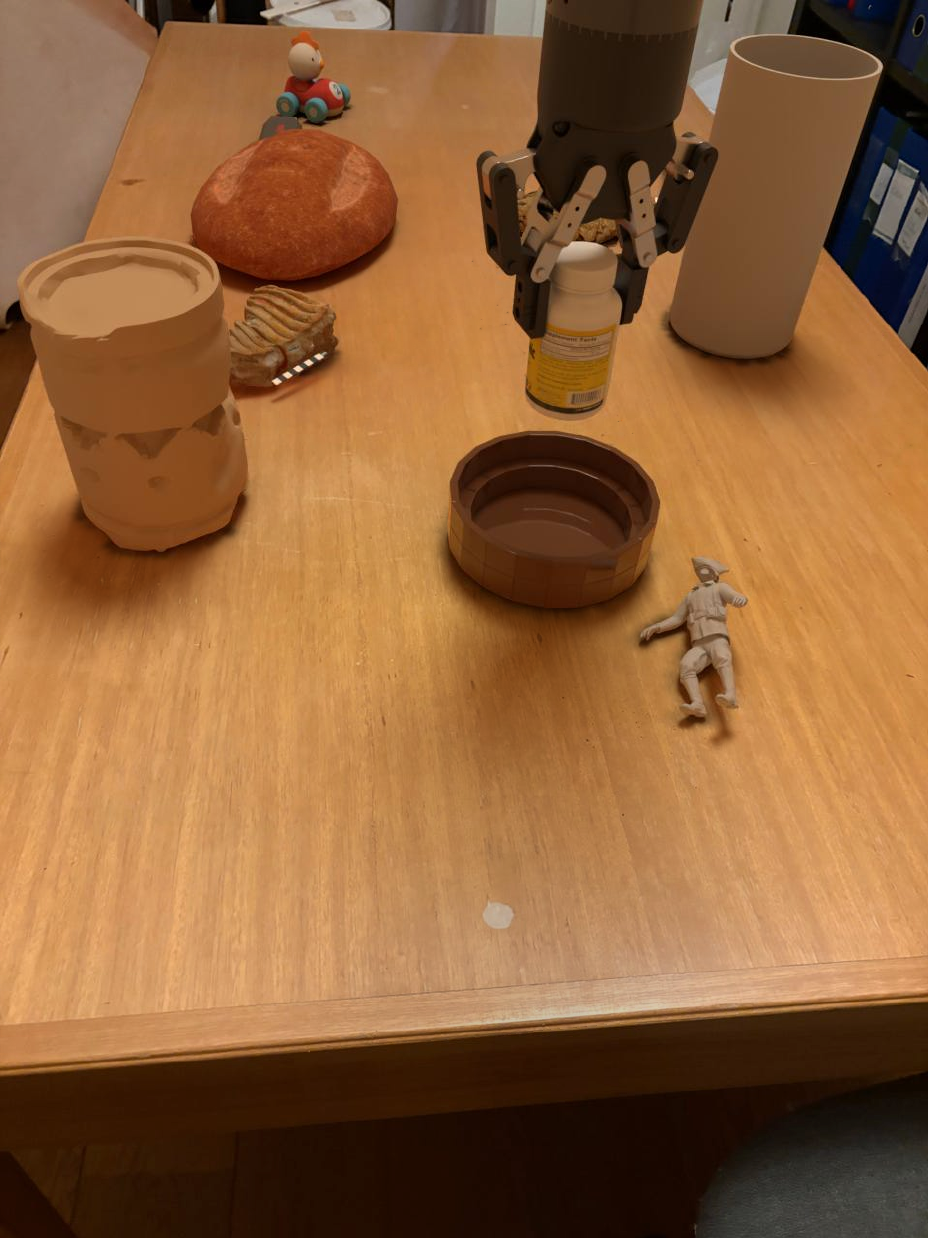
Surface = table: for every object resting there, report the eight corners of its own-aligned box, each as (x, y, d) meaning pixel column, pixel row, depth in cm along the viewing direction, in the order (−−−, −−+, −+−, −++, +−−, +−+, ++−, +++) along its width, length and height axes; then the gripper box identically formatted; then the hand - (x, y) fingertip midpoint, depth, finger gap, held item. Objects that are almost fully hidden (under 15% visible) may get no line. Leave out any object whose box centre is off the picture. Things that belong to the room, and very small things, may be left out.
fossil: (345, 340, 90) (255, 317, 90) (348, 290, 86) (253, 266, 85) (310, 423, 83) (213, 399, 83) (311, 374, 79) (208, 348, 79)
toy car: (327, 126, 130) (323, 45, 123) (271, 115, 132) (264, 35, 125) (356, 107, 136) (353, 29, 129) (302, 97, 138) (296, 19, 131)
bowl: (683, 586, 68) (699, 534, 65) (494, 635, 64) (500, 583, 60) (590, 466, 78) (599, 416, 74) (419, 502, 74) (420, 450, 70)
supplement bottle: (542, 369, 64) (559, 227, 57) (616, 392, 62) (644, 248, 55) (509, 408, 60) (524, 262, 53) (588, 433, 59) (613, 285, 52)
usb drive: (257, 165, 119) (255, 142, 117) (266, 132, 127) (264, 110, 125) (298, 167, 120) (296, 144, 118) (304, 133, 128) (303, 111, 126)
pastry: (645, 259, 106) (651, 233, 104) (494, 250, 106) (496, 224, 103) (630, 197, 118) (634, 173, 116) (494, 189, 118) (495, 165, 115)
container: (177, 576, 67) (123, 349, 54) (49, 515, 70) (-31, 289, 57) (284, 484, 74) (260, 267, 61) (163, 434, 78) (116, 220, 65)
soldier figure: (639, 721, 61) (629, 560, 66) (679, 739, 64) (666, 584, 69) (748, 693, 56) (728, 522, 61) (785, 714, 59) (763, 550, 64)
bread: (407, 179, 118) (407, 103, 112) (383, 300, 96) (382, 213, 90) (229, 168, 118) (220, 90, 112) (165, 285, 96) (148, 198, 90)
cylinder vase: (652, 341, 93) (713, 60, 75) (686, 290, 101) (749, 25, 83) (776, 375, 90) (870, 90, 72) (801, 319, 98) (892, 50, 80)
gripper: (520, 35, 41) (492, 375, 53) (791, 19, 45) (707, 338, 57) (457, -9, 45) (445, 312, 58) (707, -20, 50) (646, 282, 62)
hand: (575, 324), depth 57 cm, fingers closed on supplement bottle, 5 cm apart
